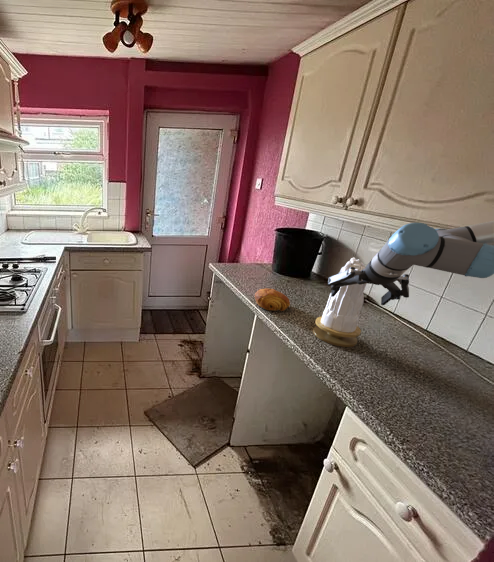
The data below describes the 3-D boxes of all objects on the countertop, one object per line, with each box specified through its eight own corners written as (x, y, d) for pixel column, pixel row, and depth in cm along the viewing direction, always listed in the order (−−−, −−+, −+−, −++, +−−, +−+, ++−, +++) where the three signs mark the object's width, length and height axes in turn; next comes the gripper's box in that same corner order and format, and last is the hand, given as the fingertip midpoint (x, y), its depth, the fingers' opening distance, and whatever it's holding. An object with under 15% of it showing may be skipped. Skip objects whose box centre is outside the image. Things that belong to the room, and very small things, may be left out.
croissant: (252, 312, 138) (255, 297, 134) (253, 295, 150) (256, 280, 147) (288, 318, 133) (293, 302, 129) (286, 300, 145) (290, 285, 141)
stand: (347, 330, 121) (351, 319, 119) (363, 350, 109) (368, 337, 107) (307, 325, 124) (311, 313, 122) (319, 343, 112) (323, 331, 110)
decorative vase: (356, 335, 108) (381, 267, 99) (320, 326, 113) (340, 261, 104) (354, 323, 116) (376, 259, 107) (320, 315, 122) (339, 254, 112)
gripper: (331, 270, 87) (312, 299, 105) (449, 287, 77) (405, 316, 95) (333, 247, 89) (314, 280, 107) (447, 261, 80) (405, 294, 98)
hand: (357, 297), depth 101 cm, fingers open, 13 cm apart
